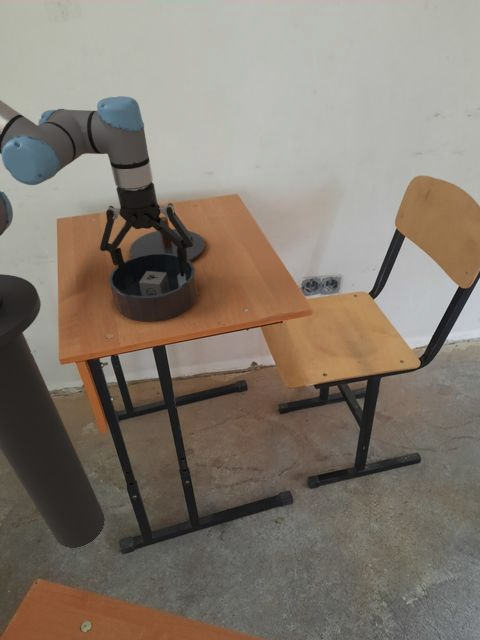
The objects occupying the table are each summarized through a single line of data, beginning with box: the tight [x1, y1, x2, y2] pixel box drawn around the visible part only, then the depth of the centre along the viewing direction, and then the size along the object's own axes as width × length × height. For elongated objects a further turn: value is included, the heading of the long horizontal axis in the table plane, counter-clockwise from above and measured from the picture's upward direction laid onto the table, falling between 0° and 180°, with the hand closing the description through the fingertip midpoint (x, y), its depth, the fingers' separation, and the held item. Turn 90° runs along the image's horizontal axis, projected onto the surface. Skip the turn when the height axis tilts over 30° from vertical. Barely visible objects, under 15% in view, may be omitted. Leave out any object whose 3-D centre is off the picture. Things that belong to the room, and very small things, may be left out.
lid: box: [129, 216, 206, 262], centre depth 127 cm, size 20×20×9 cm
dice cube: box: [139, 271, 170, 296], centre depth 111 cm, size 5×5×5 cm
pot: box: [108, 253, 199, 323], centre depth 111 cm, size 19×19×6 cm
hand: (153, 274), depth 109 cm, fingers open, 13 cm apart
